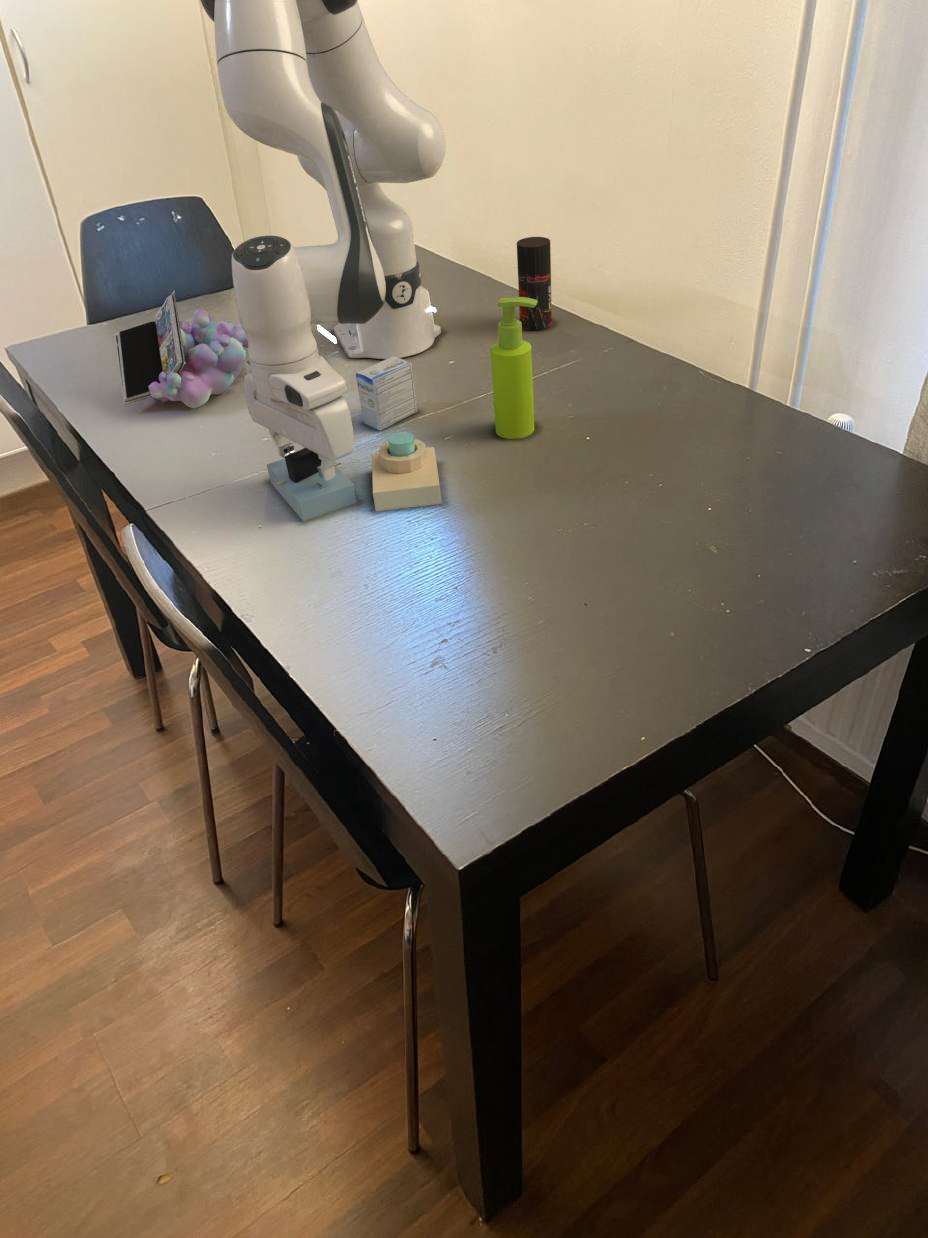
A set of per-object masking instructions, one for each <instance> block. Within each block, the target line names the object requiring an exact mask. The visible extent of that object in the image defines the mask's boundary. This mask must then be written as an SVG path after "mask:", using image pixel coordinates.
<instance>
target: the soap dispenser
mask: <svg viewBox="0 0 928 1238" xmlns="http://www.w3.org/2000/svg"><path fill="white" fill-rule="evenodd" d="M537 302H538V300H535V299H531V298H526V297H519V296H511V297H501V298H499V300H498V302H497V308H502V320H500V321H499V322H498V323H497V335H498V337H497V338H498V341H497V342H496V343H494V344H493V345H491V346H490V349H489V350H490V351H489V352H490V365H491V379H492V394H493V395H492V396H493V408H494V409H493V411H494V426H495V433H496V435H497V436H499V437H501V438H503V439H507V440H518V439H519V440H520V439H524V438H526V437H527V438H528V437H529V436H531V435H532V434H533V433H534V431H535V408H534V406H535V405H534V382H533V379H534V378H533V357H532V356H533V354H532V353H533V352H532V344H531V343H530V342H529V341H526V340H523V329H522V323H521V321H520V319H517V318H516V307H519V306H525V307H531V308H534V307H535V306H536V304H537Z"/></svg>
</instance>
